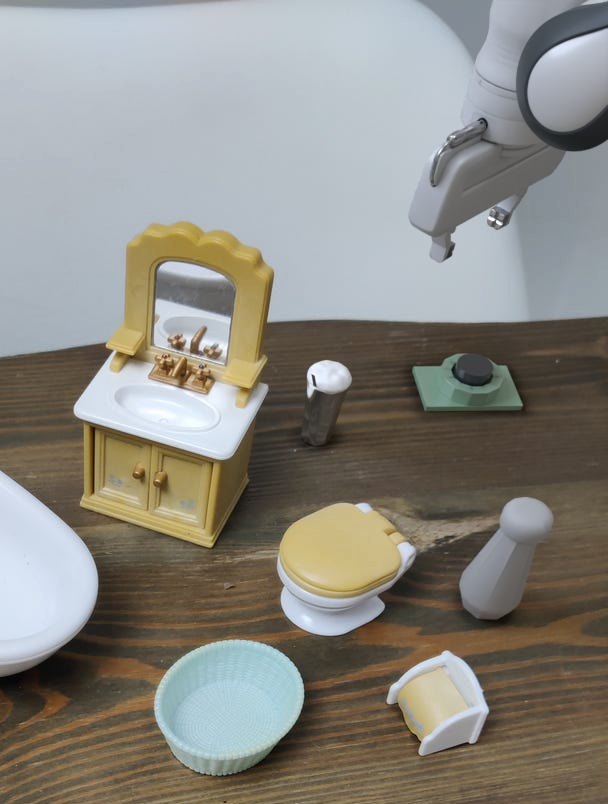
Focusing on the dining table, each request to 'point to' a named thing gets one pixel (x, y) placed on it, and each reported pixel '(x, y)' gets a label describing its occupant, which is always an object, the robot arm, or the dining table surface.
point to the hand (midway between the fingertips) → (468, 241)
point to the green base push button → (465, 389)
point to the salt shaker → (505, 560)
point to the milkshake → (324, 400)
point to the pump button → (473, 369)
